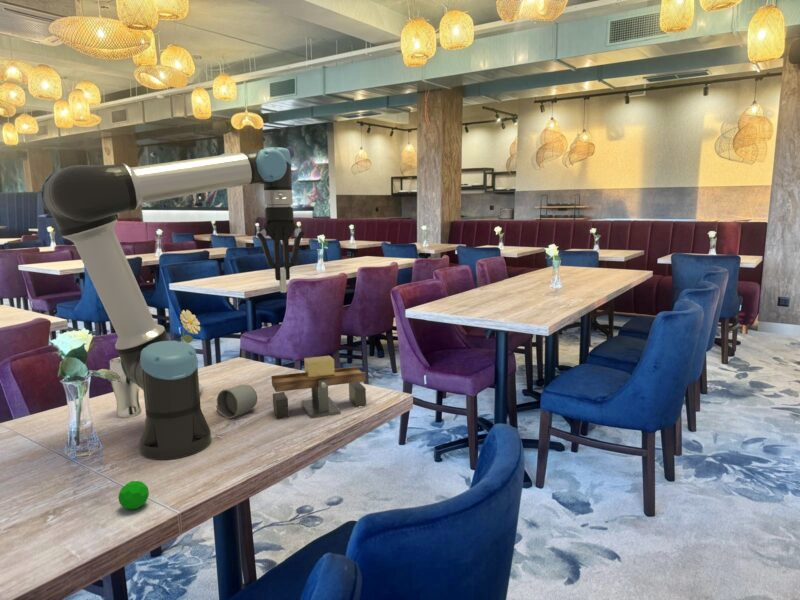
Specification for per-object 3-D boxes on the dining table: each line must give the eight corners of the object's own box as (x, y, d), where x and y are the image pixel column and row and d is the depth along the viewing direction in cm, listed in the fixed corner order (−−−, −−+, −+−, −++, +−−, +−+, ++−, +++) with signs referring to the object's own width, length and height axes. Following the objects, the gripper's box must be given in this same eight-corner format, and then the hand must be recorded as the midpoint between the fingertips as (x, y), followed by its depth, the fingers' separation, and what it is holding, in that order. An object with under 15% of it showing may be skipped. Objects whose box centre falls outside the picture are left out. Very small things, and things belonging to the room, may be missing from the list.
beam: (275, 392, 142) (275, 383, 142) (271, 384, 148) (271, 375, 148) (365, 381, 151) (365, 372, 150) (358, 374, 157) (358, 366, 156)
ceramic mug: (260, 410, 150) (258, 382, 149) (238, 420, 143) (236, 391, 142) (231, 405, 155) (228, 378, 154) (208, 415, 148) (206, 387, 146)
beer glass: (129, 407, 153) (123, 355, 151) (149, 410, 151) (144, 356, 149) (108, 416, 147) (102, 361, 144) (129, 419, 145) (123, 363, 142)
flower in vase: (179, 405, 155) (171, 316, 151) (152, 398, 160) (144, 313, 156) (215, 391, 166) (209, 308, 162) (189, 386, 172) (183, 306, 167)
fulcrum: (279, 423, 141) (277, 388, 139) (271, 407, 152) (269, 375, 150) (369, 409, 149) (368, 376, 148) (356, 395, 160) (355, 364, 159)
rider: (308, 381, 146) (307, 362, 145) (304, 376, 150) (304, 358, 149) (334, 378, 148) (334, 359, 147) (330, 373, 152) (329, 355, 152)
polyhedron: (146, 497, 105) (144, 473, 105) (152, 508, 102) (150, 483, 101) (117, 506, 103) (114, 481, 102) (122, 517, 99) (120, 492, 98)
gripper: (256, 206, 147) (261, 295, 150) (305, 205, 151) (309, 292, 155) (252, 206, 153) (257, 291, 157) (300, 206, 158) (303, 288, 162)
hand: (283, 291), depth 156 cm, fingers closed
